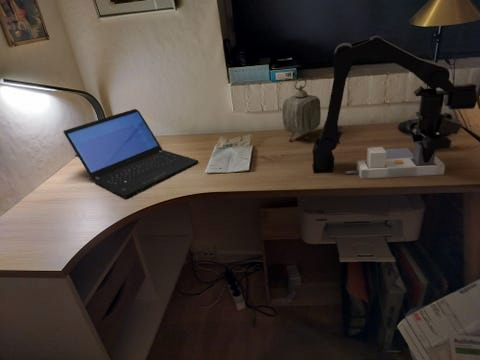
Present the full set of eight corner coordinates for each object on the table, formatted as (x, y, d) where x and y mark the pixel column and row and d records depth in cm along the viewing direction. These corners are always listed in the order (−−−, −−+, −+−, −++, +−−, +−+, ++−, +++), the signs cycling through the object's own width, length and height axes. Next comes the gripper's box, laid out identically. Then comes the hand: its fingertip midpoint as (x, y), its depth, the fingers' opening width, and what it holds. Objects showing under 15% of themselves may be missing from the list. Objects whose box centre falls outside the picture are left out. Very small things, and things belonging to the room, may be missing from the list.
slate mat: (385, 162, 112) (385, 161, 112) (378, 151, 121) (378, 149, 120) (417, 160, 110) (417, 159, 110) (407, 149, 119) (407, 148, 119)
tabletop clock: (305, 131, 148) (303, 74, 136) (322, 135, 141) (321, 75, 130) (284, 142, 140) (280, 82, 128) (301, 146, 133) (298, 83, 122)
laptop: (125, 201, 111) (108, 147, 102) (79, 176, 135) (61, 130, 126) (200, 163, 131) (191, 116, 122) (147, 147, 155) (137, 107, 147)
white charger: (369, 176, 105) (370, 153, 101) (366, 170, 109) (367, 147, 105) (384, 175, 104) (386, 152, 101) (380, 169, 108) (382, 146, 104)
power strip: (347, 179, 105) (348, 169, 103) (344, 169, 111) (344, 159, 109) (443, 174, 100) (445, 163, 99) (434, 164, 106) (436, 154, 105)
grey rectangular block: (416, 174, 103) (420, 147, 99) (411, 167, 107) (415, 141, 102) (432, 173, 102) (436, 146, 98) (426, 166, 106) (430, 140, 102)
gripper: (477, 117, 86) (466, 171, 93) (446, 99, 102) (439, 146, 109) (431, 120, 88) (423, 173, 95) (408, 102, 104) (403, 148, 111)
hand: (423, 159), depth 102 cm, fingers closed on grey rectangular block, 4 cm apart
